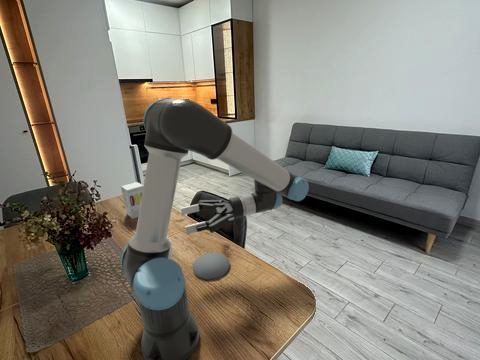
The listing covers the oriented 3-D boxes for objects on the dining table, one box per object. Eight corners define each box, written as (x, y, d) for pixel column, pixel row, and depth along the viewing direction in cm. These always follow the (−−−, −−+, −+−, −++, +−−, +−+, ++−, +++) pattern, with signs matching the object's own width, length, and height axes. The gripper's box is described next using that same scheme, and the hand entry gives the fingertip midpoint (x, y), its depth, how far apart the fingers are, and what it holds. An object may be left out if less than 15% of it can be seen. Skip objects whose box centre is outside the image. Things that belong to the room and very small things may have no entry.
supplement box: (132, 219, 137) (125, 190, 131) (126, 213, 143) (119, 186, 137) (149, 213, 143) (144, 185, 137) (142, 208, 149) (137, 181, 143)
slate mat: (236, 269, 96) (235, 267, 95) (201, 285, 89) (201, 282, 89) (219, 250, 107) (219, 248, 107) (187, 263, 101) (187, 260, 100)
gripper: (254, 232, 85) (190, 249, 79) (232, 201, 107) (181, 213, 101) (252, 212, 82) (186, 229, 76) (230, 185, 104) (178, 196, 98)
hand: (183, 220), depth 89 cm, fingers open, 13 cm apart
